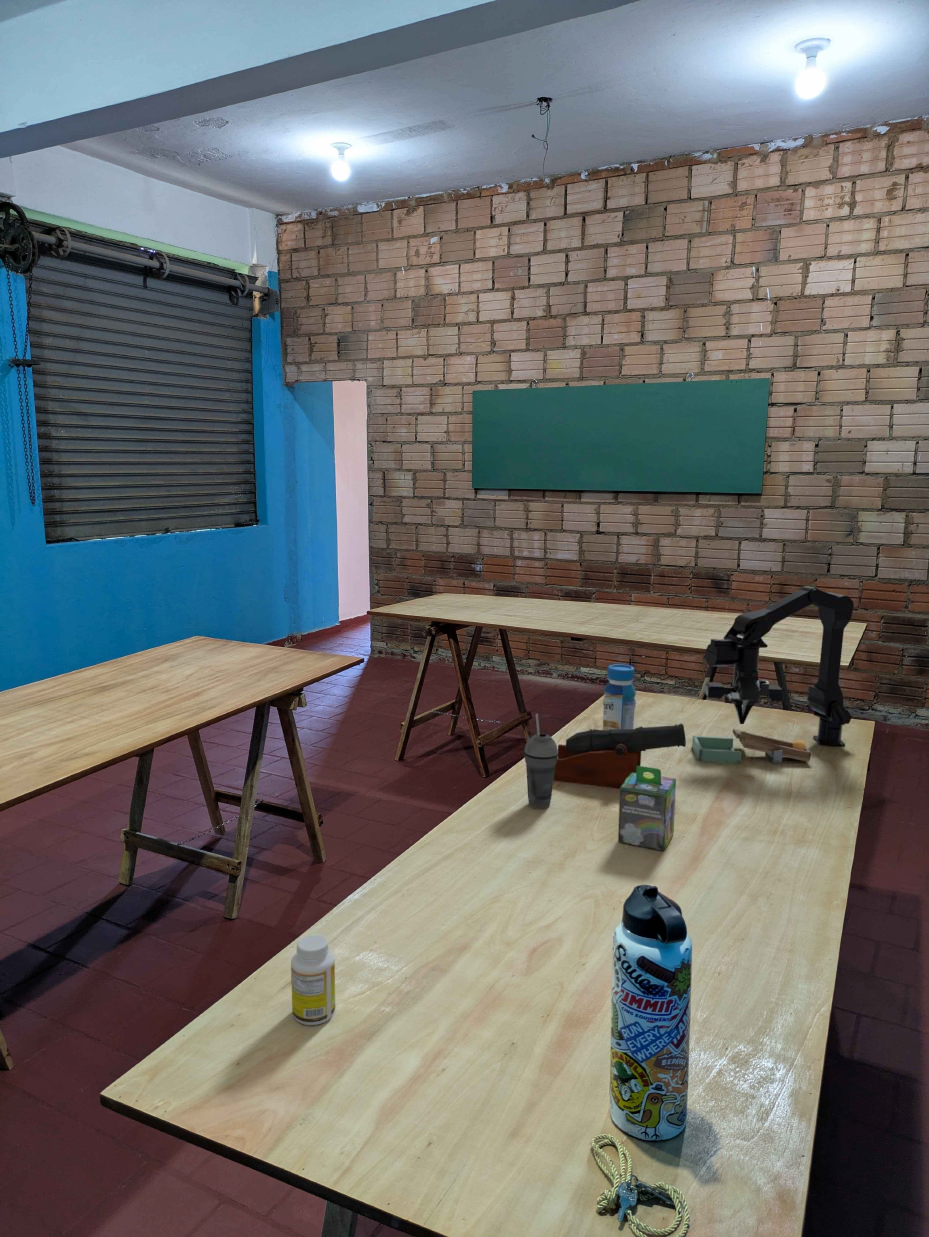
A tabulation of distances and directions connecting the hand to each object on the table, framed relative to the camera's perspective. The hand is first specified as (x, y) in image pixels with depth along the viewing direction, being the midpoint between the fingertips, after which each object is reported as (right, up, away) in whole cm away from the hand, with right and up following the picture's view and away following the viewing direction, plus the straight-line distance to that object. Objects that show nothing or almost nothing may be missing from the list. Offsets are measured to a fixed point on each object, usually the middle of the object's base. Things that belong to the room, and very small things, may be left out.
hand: (741, 723), depth 217 cm
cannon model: (-36, -10, -22) cm, 44 cm away
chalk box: (-36, -16, -53) cm, 66 cm away
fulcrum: (+6, -8, -6) cm, 12 cm away
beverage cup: (-55, -13, -38) cm, 68 cm away
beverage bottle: (-31, -5, +5) cm, 32 cm away
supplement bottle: (-91, -25, -107) cm, 142 cm away
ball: (+12, -5, -7) cm, 15 cm away
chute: (+6, -5, -3) cm, 9 cm away
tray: (-8, -7, -4) cm, 12 cm away
